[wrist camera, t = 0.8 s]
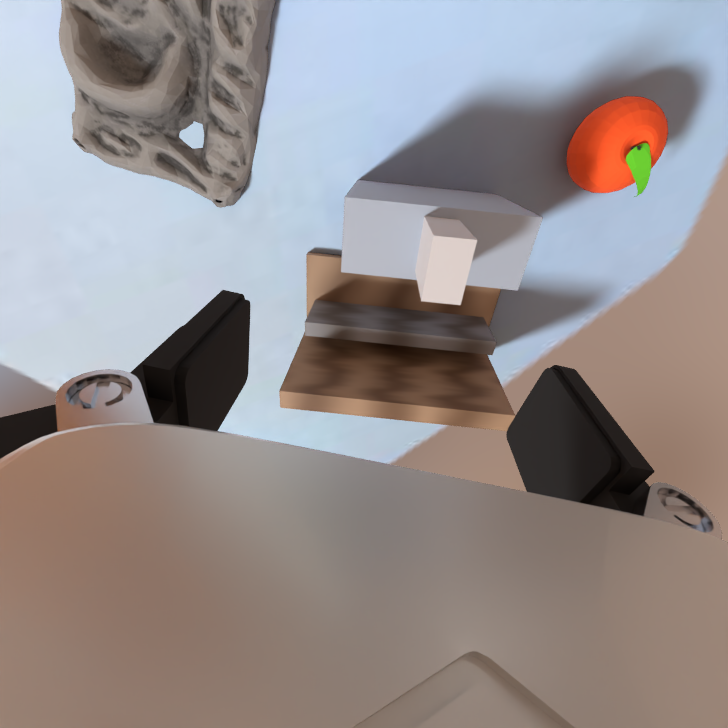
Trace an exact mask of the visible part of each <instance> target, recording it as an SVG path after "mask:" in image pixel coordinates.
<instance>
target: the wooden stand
mask: <svg viewBox="0 0 728 728" xmlns="http://www.w3.org/2000/svg"><path fill="white" fill-rule="evenodd" d="M341 261H342V256H341V255H331V254H321V253H312V252H308V253H307V319H306V321H305V333H304V335H303V338H302V340H301V342H300V345H299V347H298V349H297V352H296V354H295V356H294V358H293V361H292V363H291V365H290V368H289V370H288V372H287V375H286V377H285V379H284V382H283V384H282V386H281V389H280V391H279V392H280V407H281V408H290V409H300V410H309V411H319V412H328V413H338V414H348V415H357V416H367V417H376V418H386V419H395V420H405V421H414V422H424V423H434V424H443V425H453V426H462V427H472V428H482V429H491V430H501V431H507V430H508V427H509V426H510V424H511V423H512V421H513V419H514V417H515V414H514V412H513V410H512V408H511V405H510V403H509V401H508V399H507V397H506V395H505V393H504V390H503V388H502V386H501V384H500V382H499V379H498V377H497V375H496V373H495V371H494V368H493V366H492V364H491V362H490V360H489V358H488V355H493V352H494V349H495V346H496V343H497V342H496V340H495V338H494V336H493V334H492V332H491V330H490V329H489V325H490V322H491V319H492V316H493V313H494V310H495V306H496V303H497V300H498V297H499V294H500V291H501V289H498V288H489V287H479V286H469V285H466V286H465V290H464V294H463V298H462V302H461V305H453V304H444V303H434V302H424V301H421V298H420V293H419V288H418V283H417V280H412V279H402V278H392V277H383V276H373V275H364V274H354V273H344V272H341Z"/></svg>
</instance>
